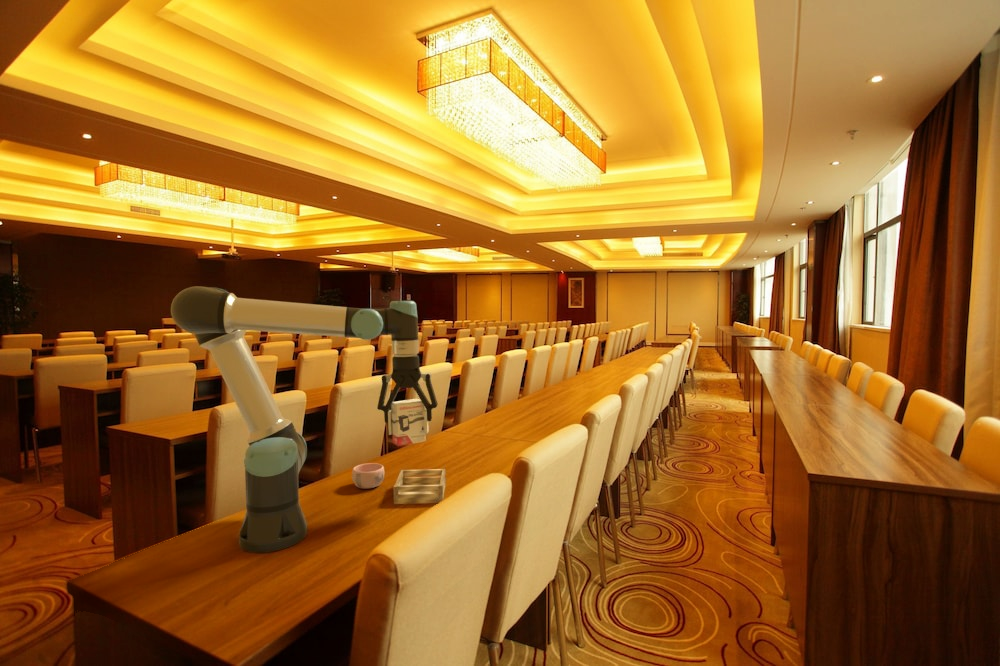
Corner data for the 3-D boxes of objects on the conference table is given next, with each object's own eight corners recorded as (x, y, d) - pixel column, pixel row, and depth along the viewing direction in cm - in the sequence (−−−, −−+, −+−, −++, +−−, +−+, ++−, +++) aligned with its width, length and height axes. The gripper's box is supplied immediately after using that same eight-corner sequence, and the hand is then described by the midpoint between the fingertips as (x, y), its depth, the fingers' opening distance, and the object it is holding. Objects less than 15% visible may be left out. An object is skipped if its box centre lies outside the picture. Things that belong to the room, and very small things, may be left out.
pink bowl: (373, 493, 150) (373, 474, 150) (345, 489, 153) (345, 470, 153) (393, 480, 162) (393, 462, 161) (367, 477, 165) (366, 459, 164)
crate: (393, 504, 142) (393, 486, 141) (401, 485, 157) (401, 469, 156) (442, 502, 142) (442, 485, 142) (445, 484, 157) (445, 468, 157)
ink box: (397, 446, 137) (395, 404, 136) (392, 442, 141) (390, 401, 141) (426, 441, 141) (424, 400, 141) (419, 437, 146) (418, 398, 145)
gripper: (363, 357, 136) (366, 437, 137) (443, 355, 136) (446, 435, 138) (369, 355, 144) (373, 431, 145) (445, 352, 144) (448, 428, 145)
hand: (408, 432), depth 141 cm, fingers closed on ink box, 9 cm apart
